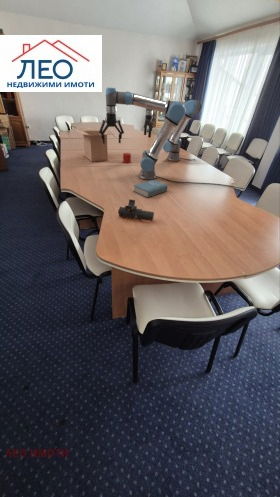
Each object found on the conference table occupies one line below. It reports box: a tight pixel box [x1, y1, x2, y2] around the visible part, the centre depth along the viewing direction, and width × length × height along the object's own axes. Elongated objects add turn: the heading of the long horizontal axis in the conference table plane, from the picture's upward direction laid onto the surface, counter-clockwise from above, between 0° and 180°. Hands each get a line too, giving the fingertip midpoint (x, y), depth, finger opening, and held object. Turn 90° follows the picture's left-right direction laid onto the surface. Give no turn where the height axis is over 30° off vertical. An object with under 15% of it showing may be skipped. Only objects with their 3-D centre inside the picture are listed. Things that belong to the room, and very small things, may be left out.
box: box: [74, 128, 115, 162], centre depth 240 cm, size 44×36×27 cm
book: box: [133, 179, 169, 198], centre depth 177 cm, size 23×16×5 cm
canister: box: [122, 152, 132, 164], centre depth 240 cm, size 8×8×9 cm
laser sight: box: [117, 199, 155, 222], centre depth 138 cm, size 10×22×10 cm, turn 78°
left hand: (111, 143), depth 179 cm, fingers open, 13 cm apart
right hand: (147, 136), depth 255 cm, fingers open, 13 cm apart
